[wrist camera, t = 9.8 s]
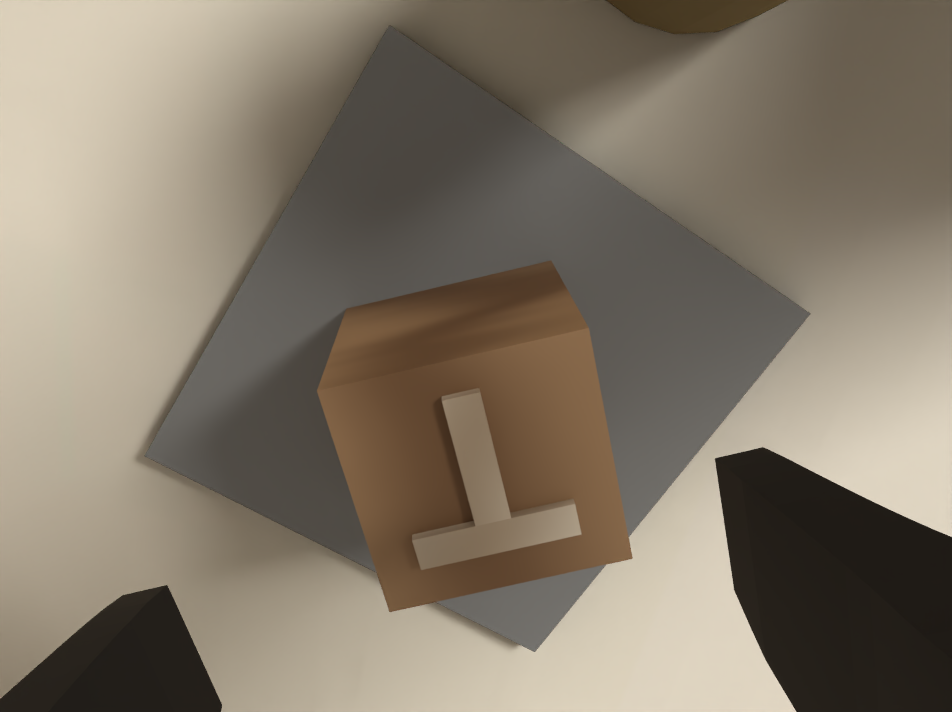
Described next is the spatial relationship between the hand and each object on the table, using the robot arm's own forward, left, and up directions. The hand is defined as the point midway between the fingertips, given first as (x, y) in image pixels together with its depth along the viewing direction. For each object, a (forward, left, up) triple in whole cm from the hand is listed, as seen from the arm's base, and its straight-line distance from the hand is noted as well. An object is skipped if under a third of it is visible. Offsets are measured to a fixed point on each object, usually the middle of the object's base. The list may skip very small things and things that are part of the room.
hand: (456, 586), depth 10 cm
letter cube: (-1, +1, -10) cm, 10 cm away
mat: (-1, +1, -10) cm, 10 cm away
